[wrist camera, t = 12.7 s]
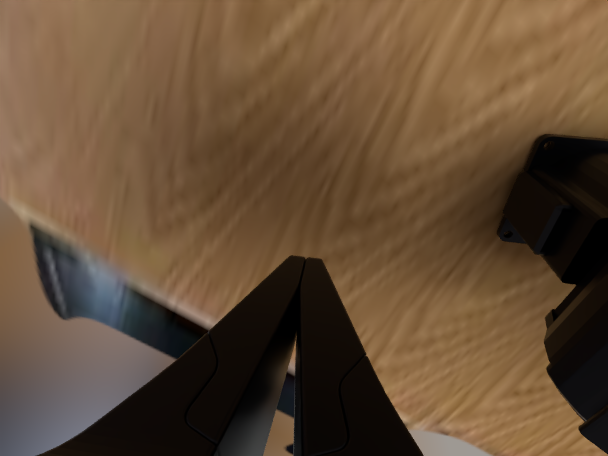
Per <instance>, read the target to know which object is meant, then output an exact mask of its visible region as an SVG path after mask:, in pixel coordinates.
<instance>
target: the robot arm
mask: <svg viewBox="0 0 608 456" xmlns="http://www.w3.org/2000/svg"><path fill="white" fill-rule="evenodd" d="M549 141H551V144H550V145H549V147H547V148H544V145H545V143H547V142H549ZM503 214H504V216H503V218H502V220H501V223H500V225H499V227H498V230H497V235H498V236H499V238H500V239H501V240H502V241H507V242H516V243H525V244H527V245H528V246H529V247H530V249H531V250H532V251H533V252H534V254H536V255H541V256H542V257H543V259H544V260H545V261H546V262H547V264H548V265H549V266H550V267H551V269H552V270H553V271H554V272H555V274H556V275H557V276H558V277H559V279H560V280H561V281H562V282H563V283H567V284H575V285H576V287H575V288H574V289H573V290H572V291H571V292H570V294H569V295H568V296H567V297H566V298H565V299H564V300H563V301H562V303H561V304H560V305H559V306H558V307H557V308H556V309H555V310H554V309H552V310H551V311H550V312H549V313H548V315H547V316H546V317H545V321H546V326H547V331H546V335H545V339H544V345H545V348H546V352H547V355H548V359H549V361H550V364H549V365H548V366H547V368H546V369H547V372H548V375H549V377H550V378H551V380H552V381H553V383H554V384H555V386H556V388H557V389H558V391H559V392H560V394H561V395H562V396H563V397H564V398H565V400H566V401H567V402H568V403H569V405H570V406H571V407H572V408H573V410H574V411H575V412H576V413H577V414H578V415H579V416H580V417H581V418H582V419H583V420H584V423H583V424H582V425H580V426H579V431H580V433H581V434H582V435H583V436H584V437H585V438H587V439H588V440H589V441H591V442H592V443H593V444H595V445H596V446H597V447H599V448H600V449H601V450H603V451H604V452H605V453H607V454H608V139H600V138H589V137H577V136H565V135H554V134H546V135H543V136H541V137H540V138H539V139H538V140H537V141H536V143H535V145H534V147H533V150H532V152H531V154H530V156H529V159H528V161H527V163H526V166H525V168H524V170H523V172H521V173H520V174H519V175H518V177H517V180H516V182H515V184H514V187H513V189H512V191H511V194H510V196H509V198H508V201H507V203H506V205H505V208H504V210H503ZM507 231H510V232H509V233H508V234H504V233H505V232H507ZM296 335H297V337H296ZM295 340H296V363H295V408H294V452H293V456H423V454H422V452H421V450H420V449H419V447H418V446H417V444H416V442H415V441H414V439H413V437H412V436H411V434H410V433H409V431H408V429H407V428H406V426H405V425H404V423H403V421H402V420H401V418H400V416H399V415H398V413H397V411H396V410H395V408H394V406H393V405H392V403H391V401H390V399H389V398H388V396H387V394H386V393H385V391H384V389H383V387H382V385H381V383H380V381H379V379H378V377H377V375H376V373H375V371H374V369H373V367H372V365H371V363H370V360H369V358H368V357H367V356H366V352H365V350H364V348H363V346H362V344H361V341H360V339H359V337H358V335H357V333H356V331H355V329H354V327H353V324H352V322H351V320H350V318H349V316H348V314H347V312H346V309H345V307H344V305H343V303H342V301H341V299H340V297H339V294H338V292H337V290H336V288H335V286H334V284H333V282H332V279H331V277H330V275H329V273H328V271H327V269H326V267H325V264H324V262H323V260H322V259H318V258H310V257H308V258H307V259H305V257H302V256H293V255H291V256H289V257H288V258H287V259H286V260H285V261H284V262H283V263H282V264H281V265H279V266H278V267H277V268H276V269H275V270H274V271H273V272H272V273H271V274H270V275H269V276H268V277H267V278H265V279H264V280H263V281H262V282H261V283H260V284H259V285H258V286H257V287H256V288H255V289H254V290H253V291H251V292H250V293H249V294H248V295H247V296H246V297H245V298H244V299H243V300H242V301H241V302H240V303H239V304H237V305H236V306H235V307H234V308H233V309H232V310H231V311H230V312H229V313H228V314H227V315H226V316H224V317H223V318H222V319H221V320H220V321H219V322H218V323H217V324H216V325H215V326H214V327H213V328H212V329H210V330H209V331H208V334H205V335H204V336H203V337H202V338H201V339H199V340H198V341H197V342H196V343H195V344H194V345H193V346H192V347H191V348H190V349H188V350H187V351H186V352H185V353H184V354H183V355H182V356H180V357H179V358H178V359H177V360H176V361H175V362H173V363H172V364H171V365H170V366H168V367H167V368H166V369H165V370H163V371H162V372H161V373H159V375H157V376H156V377H155V378H153V379H152V380H151V381H150V382H148V383H147V384H146V385H144V386H143V387H141V388H140V389H139V390H137V391H136V392H135V393H133V394H132V395H131V396H129V397H128V398H127V399H125V400H124V401H123V402H122V403H120V404H119V405H118V406H116V407H115V408H114V409H112V410H111V411H110V412H109V413H107V414H106V415H104V416H103V417H102V418H101V419H99V420H98V421H97V422H95V423H94V424H92V425H91V426H90V427H88V428H87V429H85V430H84V431H83V432H81V433H80V434H78V435H76V436H75V437H73V438H72V439H70V440H68V441H66V442H65V443H63V444H61V445H59V446H57V447H55V448H53V449H51V450H49V451H47V452H45V453H42V454H39V455H37V456H263V453H264V450H265V446H266V443H267V439H268V436H269V432H270V428H271V425H272V422H273V418H274V415H275V411H276V408H277V404H278V401H279V397H280V394H281V390H282V387H283V383H284V380H285V376H286V373H287V369H288V366H289V362H290V359H291V355H292V352H293V348H294V344H295Z"/></svg>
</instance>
